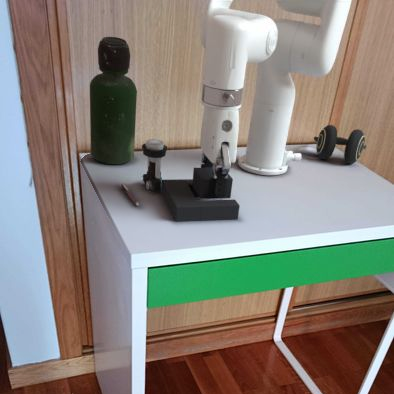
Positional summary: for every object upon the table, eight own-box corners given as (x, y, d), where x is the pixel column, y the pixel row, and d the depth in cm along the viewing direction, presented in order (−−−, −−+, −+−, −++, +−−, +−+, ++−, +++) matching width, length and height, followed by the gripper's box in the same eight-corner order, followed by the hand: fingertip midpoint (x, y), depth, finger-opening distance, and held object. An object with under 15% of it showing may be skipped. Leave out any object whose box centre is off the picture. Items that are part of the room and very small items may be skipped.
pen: (119, 186, 109) (119, 181, 108) (122, 185, 109) (122, 181, 109) (136, 207, 102) (136, 202, 101) (140, 207, 102) (140, 202, 101)
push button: (133, 184, 111) (133, 137, 105) (152, 180, 114) (154, 134, 107) (150, 195, 107) (151, 147, 101) (170, 190, 110) (172, 144, 104)
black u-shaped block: (217, 191, 112) (219, 178, 110) (237, 219, 102) (239, 205, 100) (161, 193, 109) (161, 179, 107) (175, 221, 98) (176, 207, 96)
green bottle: (136, 149, 126) (141, 37, 108) (130, 168, 119) (135, 52, 101) (95, 143, 125) (93, 29, 108) (86, 162, 118) (84, 43, 100)
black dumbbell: (308, 158, 133) (310, 152, 150) (364, 167, 131) (360, 160, 148) (316, 123, 129) (318, 121, 146) (374, 132, 127) (369, 129, 144)
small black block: (221, 185, 107) (223, 167, 105) (230, 198, 103) (233, 179, 100) (192, 186, 106) (193, 167, 103) (200, 199, 101) (202, 179, 98)
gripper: (256, 109, 87) (242, 207, 98) (226, 84, 99) (216, 173, 111) (215, 109, 85) (205, 208, 97) (190, 83, 98) (184, 174, 109)
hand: (211, 188), depth 104 cm, fingers closed on small black block, 6 cm apart
